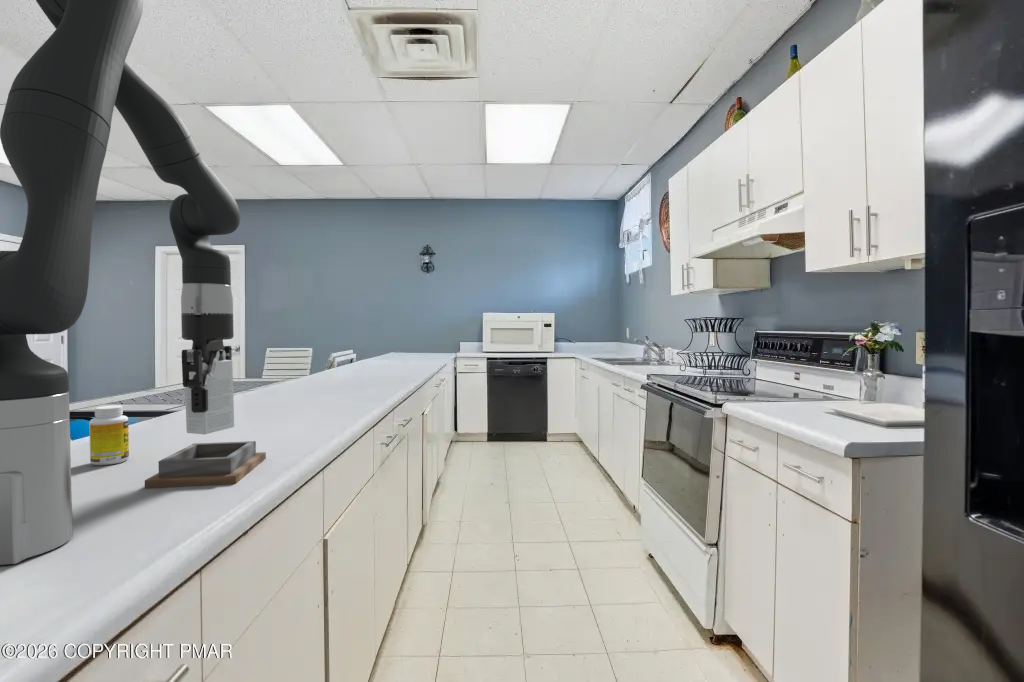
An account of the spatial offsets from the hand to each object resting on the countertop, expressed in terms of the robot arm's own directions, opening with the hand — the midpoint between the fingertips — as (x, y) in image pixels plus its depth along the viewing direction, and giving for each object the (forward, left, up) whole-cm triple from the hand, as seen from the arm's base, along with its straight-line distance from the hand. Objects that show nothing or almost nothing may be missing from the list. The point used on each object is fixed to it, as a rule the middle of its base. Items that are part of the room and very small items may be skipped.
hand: (209, 408), depth 84 cm
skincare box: (0, 0, -4) cm, 4 cm away
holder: (0, 0, -11) cm, 11 cm away
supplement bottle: (+10, +21, -11) cm, 26 cm away
